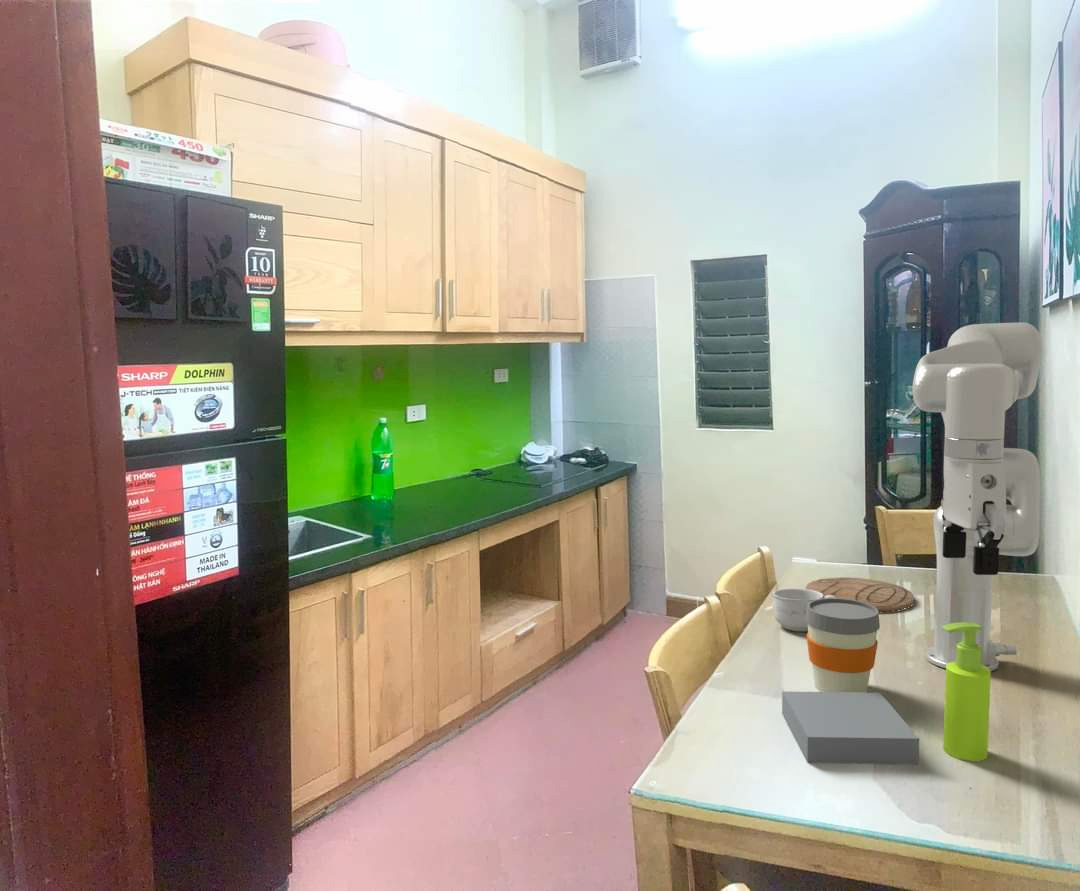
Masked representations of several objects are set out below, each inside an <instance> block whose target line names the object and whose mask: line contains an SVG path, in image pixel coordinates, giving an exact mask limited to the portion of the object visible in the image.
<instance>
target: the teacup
mask: <svg viewBox="0 0 1080 891" xmlns="http://www.w3.org/2000/svg"><path fill="white" fill-rule="evenodd" d="M772 596H773V613H774V619H775V621H776V622H777V623H778V624H779V625H780V626H782V628H783V629H785V630H788V631H793V632H808V624H807V623H806V621H805V618H806V610H807V604H808V603H809V602H810V601H813V600H817V599H823V598H836V597H835V596H832V595H827V596H825V597H823V594H822V593H820V592H817V591H814V590H808V589H806V588H796V587H795V588H793V587H791V588H782V589H776V590H774V591H772Z"/></svg>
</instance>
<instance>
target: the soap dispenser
mask: <svg viewBox="0 0 1080 891" xmlns="http://www.w3.org/2000/svg"><path fill="white" fill-rule="evenodd" d="M941 627H942V628H943V629H944V630H946V631H948V632H949V633H953V632H957V631H963V642H960V643H958V644H957V645H956V662H950V663H948V664H947V665H946V668H945V687H944V688H945V692H944V720H943V746H942V748H943V751H944V752H945V753H946V754H947V755H949V756H952V757H954V758H955V759H958V760H961V761H966V762H981V761H980V760H982V761H984V759H985V760H986V759H987V758H988V754H989V753H988V752H989V750H988V748H989V726H990V701H991V683H992V682H991V680H992V679H991V678H992V677H991V676H992V671H990V670H989V669H988V668H986V667H984V666H982V665H981V664H982V647H981V646H979V645H978V644H976V631H983V627H982V626H980V625H978V624H976V623H966V622H959V623H951V624H947V625H944V626H941Z"/></svg>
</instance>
